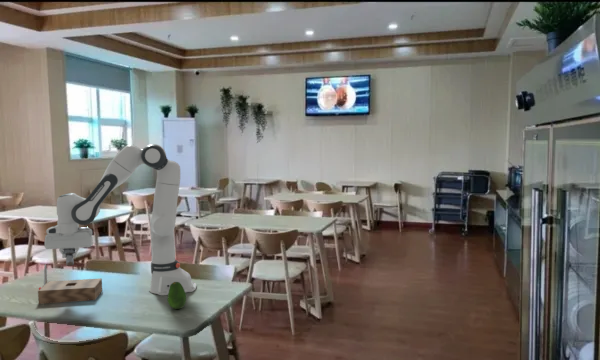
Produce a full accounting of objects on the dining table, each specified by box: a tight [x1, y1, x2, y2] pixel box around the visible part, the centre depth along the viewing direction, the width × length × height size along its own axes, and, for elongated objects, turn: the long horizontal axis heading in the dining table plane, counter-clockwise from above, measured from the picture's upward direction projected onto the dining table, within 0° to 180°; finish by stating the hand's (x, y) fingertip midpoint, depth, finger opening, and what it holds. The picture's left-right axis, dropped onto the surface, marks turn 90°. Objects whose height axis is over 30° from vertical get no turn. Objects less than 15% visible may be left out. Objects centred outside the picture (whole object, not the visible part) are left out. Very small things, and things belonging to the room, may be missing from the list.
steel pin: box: [63, 248, 76, 267], centre depth 214 cm, size 5×5×8 cm
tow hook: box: [38, 264, 48, 290], centre depth 229 cm, size 8×13×9 cm
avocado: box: [167, 282, 187, 310], centre depth 199 cm, size 8×8×12 cm
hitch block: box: [37, 278, 103, 305], centre depth 216 cm, size 24×14×6 cm, turn 101°
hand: (69, 257), depth 214 cm, fingers closed on steel pin, 3 cm apart
